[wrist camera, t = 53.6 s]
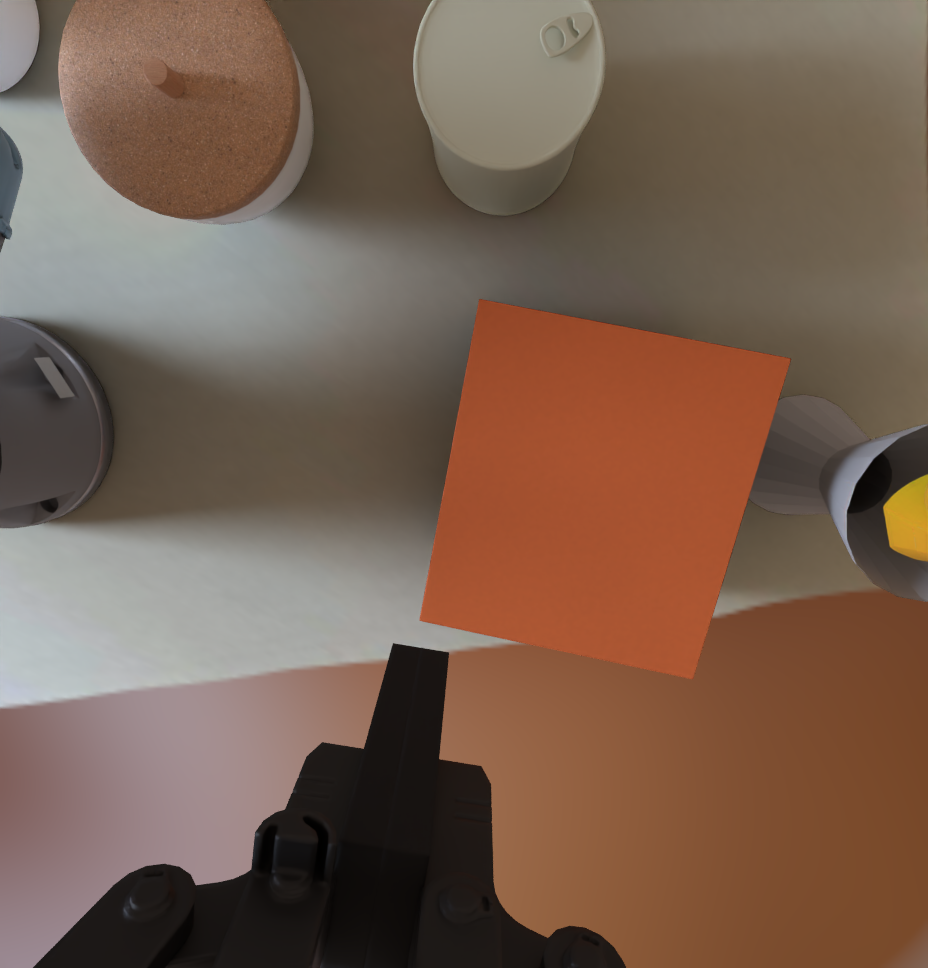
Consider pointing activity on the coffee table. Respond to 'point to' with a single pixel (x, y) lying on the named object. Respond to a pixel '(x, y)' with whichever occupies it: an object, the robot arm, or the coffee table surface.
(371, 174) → the coffee table surface
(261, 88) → the lidded bowl
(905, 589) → the lava lamp
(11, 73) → the wine bottle
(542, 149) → the can
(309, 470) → the coffee table surface
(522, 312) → the lid
